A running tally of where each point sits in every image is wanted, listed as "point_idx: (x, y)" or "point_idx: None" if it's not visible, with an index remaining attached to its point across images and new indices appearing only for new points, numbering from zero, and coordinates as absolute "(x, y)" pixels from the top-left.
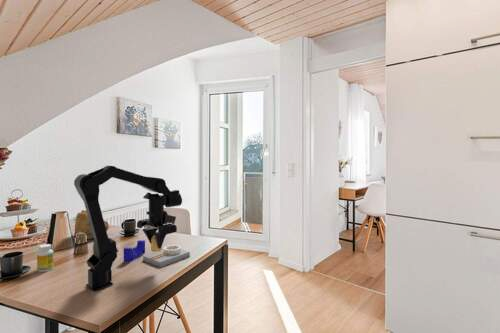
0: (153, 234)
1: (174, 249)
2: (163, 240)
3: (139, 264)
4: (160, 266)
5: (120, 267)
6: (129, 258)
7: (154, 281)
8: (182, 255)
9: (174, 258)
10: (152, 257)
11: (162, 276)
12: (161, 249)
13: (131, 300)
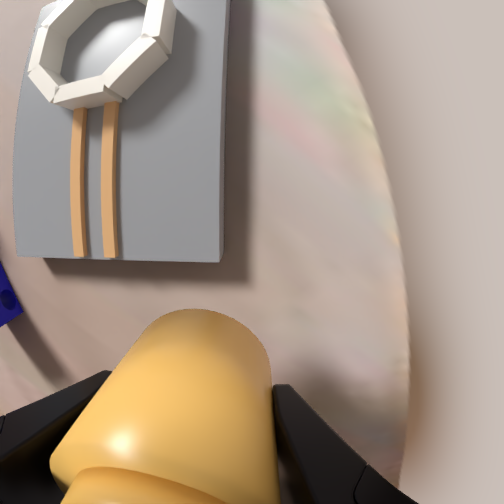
0: (18, 502)
1: (88, 14)
2: (362, 465)
3: (77, 305)
4: (223, 250)
5: (62, 381)
6: (8, 321)
7: (371, 393)
8: (226, 20)
9: (223, 99)
10: (83, 239)
11: (366, 338)
12: (244, 328)
13: (392, 479)
